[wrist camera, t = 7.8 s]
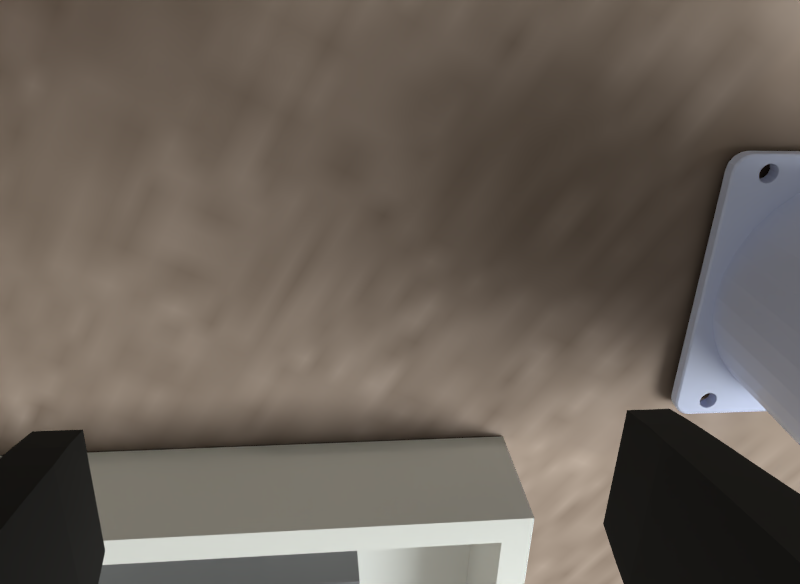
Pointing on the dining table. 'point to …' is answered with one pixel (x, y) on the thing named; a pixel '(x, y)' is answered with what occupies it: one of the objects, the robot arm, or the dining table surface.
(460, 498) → the walled box
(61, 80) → the dining table surface
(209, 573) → the inlet socket
